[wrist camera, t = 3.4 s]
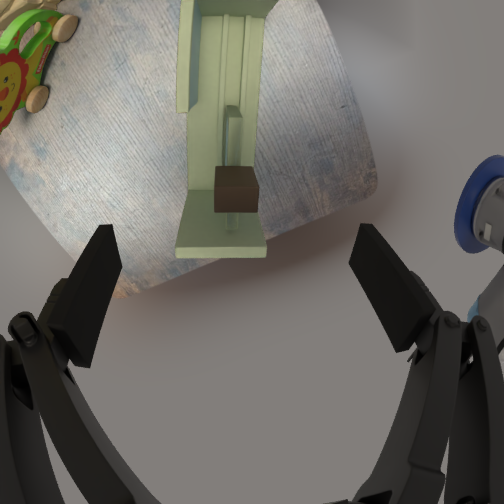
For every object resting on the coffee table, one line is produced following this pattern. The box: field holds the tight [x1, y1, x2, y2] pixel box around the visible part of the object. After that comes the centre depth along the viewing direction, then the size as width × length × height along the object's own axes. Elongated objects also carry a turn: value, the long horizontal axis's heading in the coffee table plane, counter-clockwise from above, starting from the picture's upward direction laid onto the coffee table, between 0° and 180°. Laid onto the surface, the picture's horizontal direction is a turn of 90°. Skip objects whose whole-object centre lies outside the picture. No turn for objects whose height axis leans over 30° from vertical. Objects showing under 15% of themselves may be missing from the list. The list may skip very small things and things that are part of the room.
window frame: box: [175, 0, 279, 258], centre depth 23 cm, size 8×24×14 cm, turn 176°
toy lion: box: [0, 9, 78, 134], centre depth 15 cm, size 16×5×15 cm, turn 149°
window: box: [214, 105, 259, 229], centre depth 25 cm, size 3×10×15 cm, turn 177°
